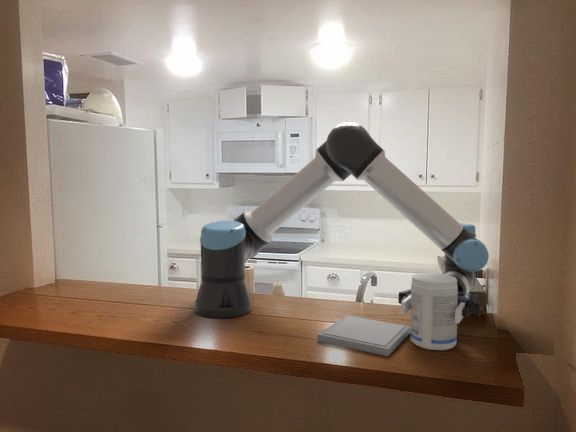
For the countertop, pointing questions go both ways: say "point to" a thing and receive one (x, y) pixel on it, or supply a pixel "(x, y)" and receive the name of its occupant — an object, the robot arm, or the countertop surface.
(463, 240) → the robot arm
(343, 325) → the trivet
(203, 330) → the countertop surface
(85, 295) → the countertop surface
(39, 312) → the countertop surface
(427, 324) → the supplement tub
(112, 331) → the countertop surface
